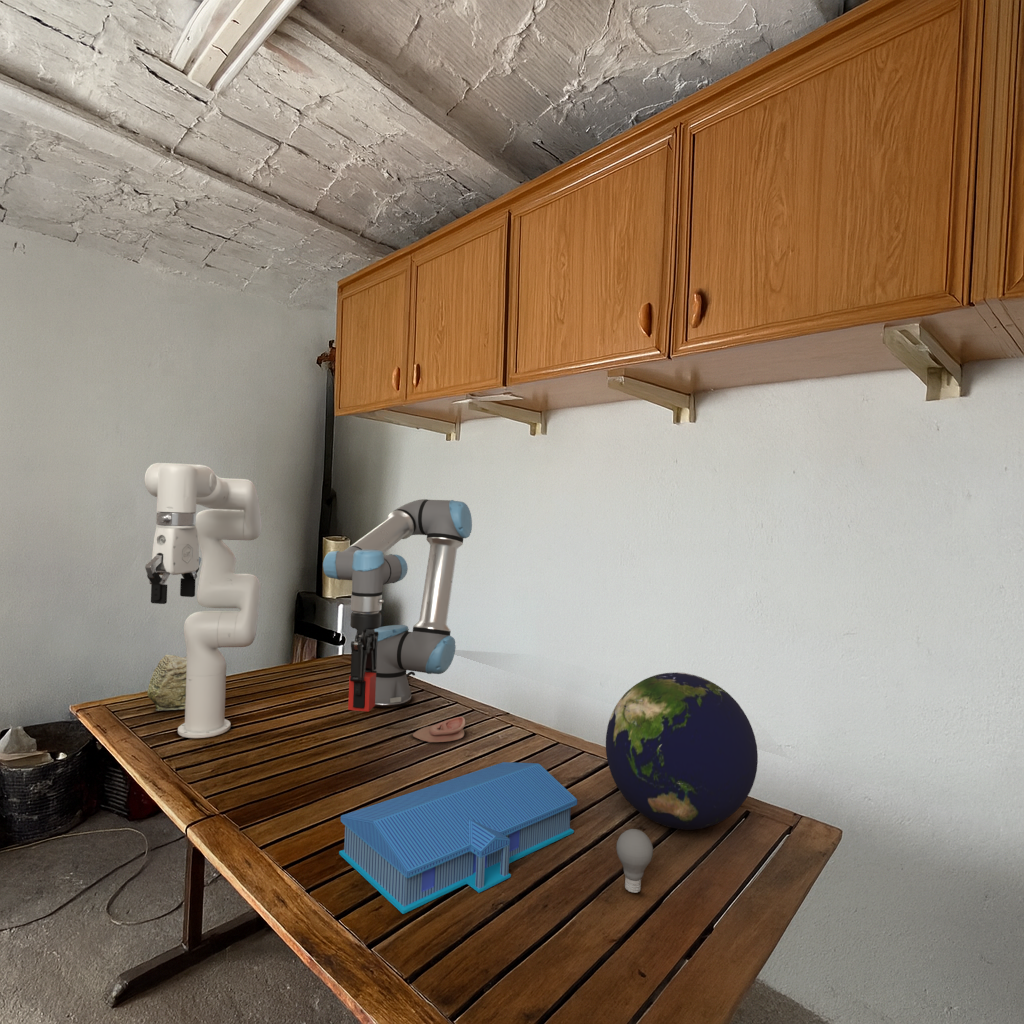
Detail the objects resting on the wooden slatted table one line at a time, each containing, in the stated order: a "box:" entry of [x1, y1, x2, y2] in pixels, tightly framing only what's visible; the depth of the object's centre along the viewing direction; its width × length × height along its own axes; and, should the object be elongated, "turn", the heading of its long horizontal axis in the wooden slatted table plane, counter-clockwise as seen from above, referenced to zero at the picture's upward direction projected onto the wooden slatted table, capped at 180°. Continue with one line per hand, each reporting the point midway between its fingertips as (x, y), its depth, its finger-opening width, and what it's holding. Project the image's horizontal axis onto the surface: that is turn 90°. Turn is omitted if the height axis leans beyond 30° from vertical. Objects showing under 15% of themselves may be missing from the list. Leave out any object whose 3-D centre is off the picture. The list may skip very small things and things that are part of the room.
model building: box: [338, 761, 578, 915], centre depth 117 cm, size 39×24×10 cm, turn 132°
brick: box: [347, 672, 376, 713], centre depth 159 cm, size 5×5×8 cm
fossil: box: [147, 654, 187, 712], centre depth 185 cm, size 9×18×15 cm, turn 132°
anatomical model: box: [412, 716, 466, 743], centre depth 171 cm, size 13×4×12 cm
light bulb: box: [615, 828, 654, 894], centre depth 106 cm, size 6×6×10 cm
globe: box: [605, 671, 759, 831], centre depth 130 cm, size 30×30×30 cm
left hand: (173, 599), depth 137 cm, fingers open, 9 cm apart
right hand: (362, 703), depth 159 cm, fingers closed on brick, 5 cm apart
